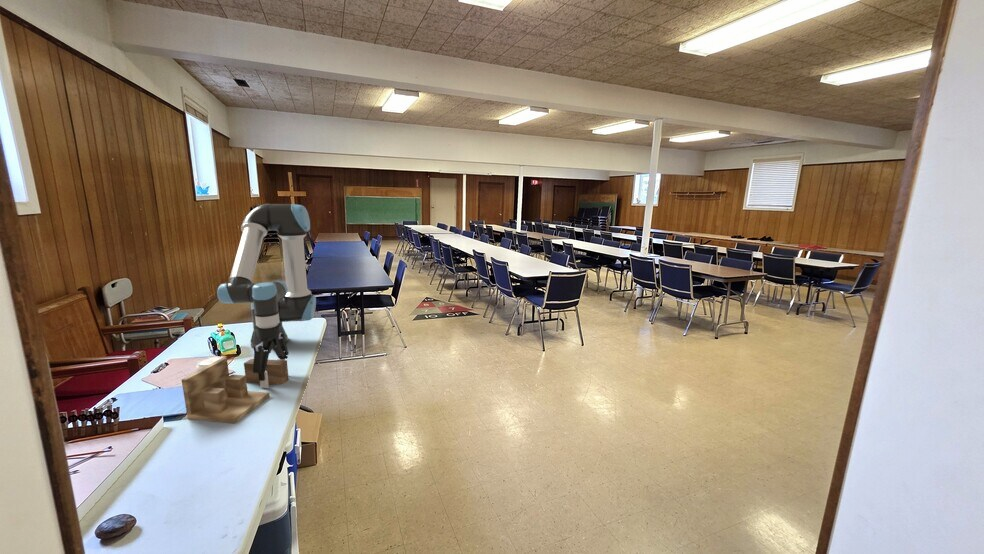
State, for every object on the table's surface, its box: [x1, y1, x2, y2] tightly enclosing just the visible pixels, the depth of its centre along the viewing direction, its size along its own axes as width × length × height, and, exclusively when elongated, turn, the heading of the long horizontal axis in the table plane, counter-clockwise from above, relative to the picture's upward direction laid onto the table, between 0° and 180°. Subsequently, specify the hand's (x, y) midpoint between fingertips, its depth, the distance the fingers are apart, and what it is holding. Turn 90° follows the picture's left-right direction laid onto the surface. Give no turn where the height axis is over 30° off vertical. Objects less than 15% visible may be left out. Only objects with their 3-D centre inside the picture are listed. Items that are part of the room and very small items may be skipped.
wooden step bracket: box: [181, 357, 270, 424], centre depth 125 cm, size 16×16×14 cm
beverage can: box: [195, 355, 223, 372], centre depth 134 cm, size 8×8×12 cm
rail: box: [243, 358, 290, 385], centre depth 143 cm, size 4×14×8 cm, turn 88°
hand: (273, 380), depth 143 cm, fingers open, 9 cm apart
